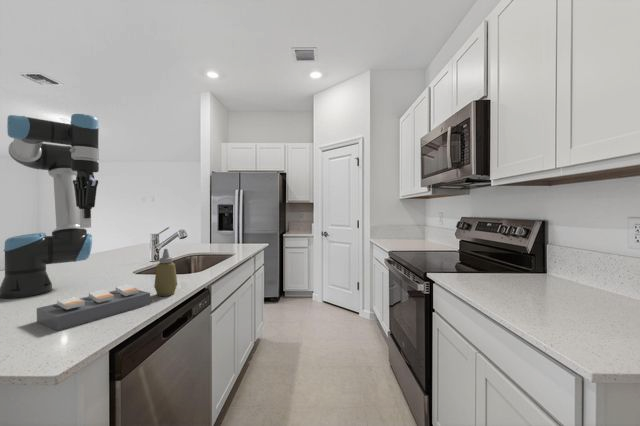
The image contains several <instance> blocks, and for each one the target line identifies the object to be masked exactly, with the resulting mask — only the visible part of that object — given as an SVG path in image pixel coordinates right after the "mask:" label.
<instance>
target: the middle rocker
mask: <svg viewBox="0 0 640 426" xmlns="http://www.w3.org/2000/svg"><path fill="white" fill-rule="evenodd" d="M109 292H110V291H107V290H106V289H99V290H95V291H92V292H88V296H89V297H90V298H92V299H93V300H95V301H96V302H97V303H100V302H104V301H108V300H112V299H113V298H114V296H113V295H112V294H110V293H109Z"/></svg>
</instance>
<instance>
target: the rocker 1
mask: <svg viewBox="0 0 640 426" xmlns="http://www.w3.org/2000/svg"><path fill="white" fill-rule="evenodd" d="M56 304H57V305H59V306H61V307H63V308H64V309H66V310H67V309H72V308H76V307H80V306H84V305H85V301H83V300H81V299H80V298H78V297H77V296H73V297H68V298H64V299H63V298H62V299H58V300H57V303H56Z"/></svg>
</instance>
